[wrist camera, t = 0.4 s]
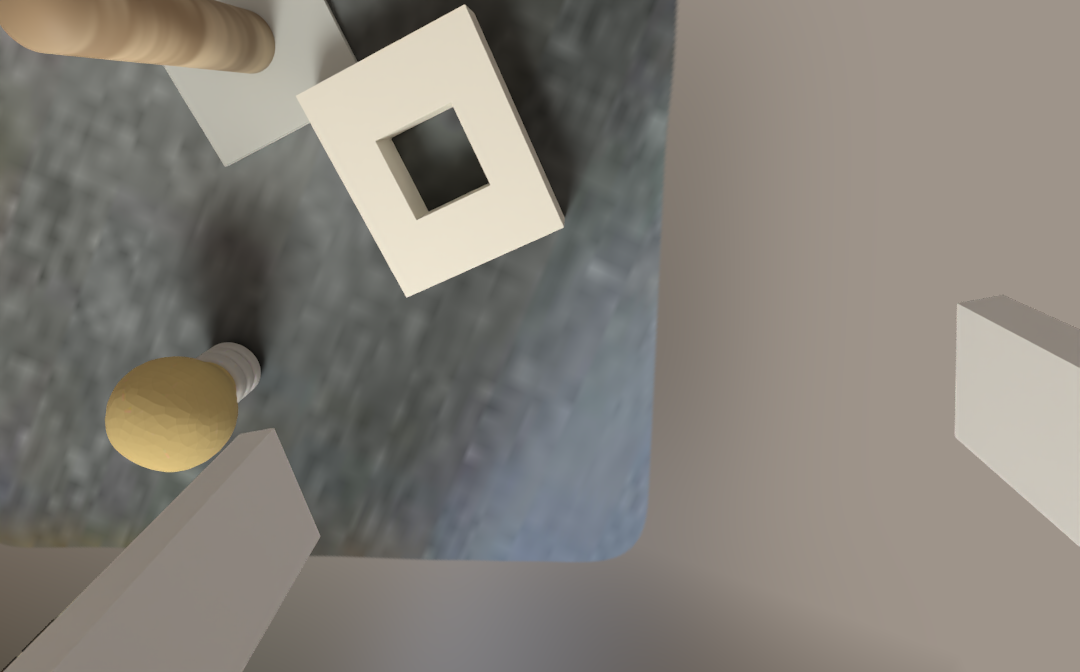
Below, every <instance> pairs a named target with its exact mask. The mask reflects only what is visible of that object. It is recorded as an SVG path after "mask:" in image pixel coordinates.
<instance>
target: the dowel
mask: <svg viewBox="0 0 1080 672" xmlns="http://www.w3.org/2000/svg"><path fill="white" fill-rule="evenodd" d="M0 25H1V26H2V28H3V29H4V30H5V31H6V32H7V34H8V35H9V36H10V37H12V38H13V39H14V40H15V41H16V42H18V43H19V44H21V45H22V46H24V47H26V48H28V49H30V50H33V51H36V52H40V53H47V54H57V55H67V56H77V57H87V58H98V59H108V60H118V61H128V62H138V63H148V64H158V65H168V66H178V67H188V68H198V69H208V70H218V71H228V72H238V73H248V74H253V73H258V72H261V71H263V70H264V69H266V68H267V67H268V66H269V65H270V63H271V62H272V60H273V57H274V53H275V40H274V36H273V33H272V31H271V29H270V27H269V25H268V24H267V22H266V21H265V20H264V19H263V18H262V17H261V16H259V15H258V14H256V13H255V12H253V11H250V10H247V9H243V8H240V7H236V6H233V5H230V4H226V3H223V2H219V1H216V0H0Z"/></svg>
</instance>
